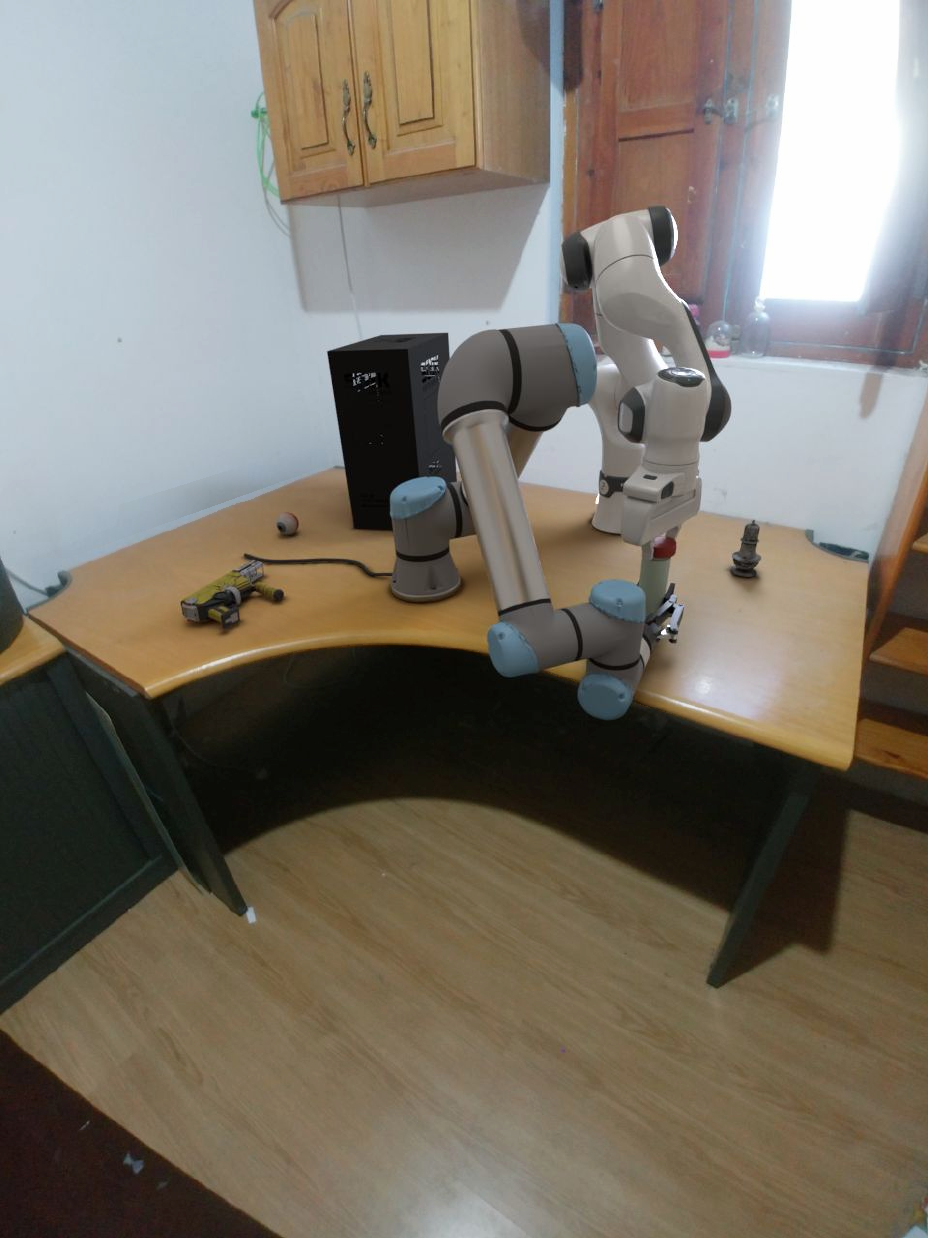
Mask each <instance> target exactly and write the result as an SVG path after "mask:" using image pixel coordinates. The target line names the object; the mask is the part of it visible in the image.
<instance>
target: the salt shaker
mask: <svg viewBox="0 0 928 1238" xmlns="http://www.w3.org/2000/svg"><path fill="white" fill-rule="evenodd" d="M760 530H761V527H760V525H759V524H757V523H756V519H752V520H751V522H749V523H746V525H744V529H743V534H742V537H741V538H740V541H741V543H740V548H739V550H737V551H734V552H732V553H731V557H732V563H733V565H734V566H732V567H731V568H730V572H731V573H732V574H734V575H735V576H738V577H743V578H750V577H754V576H756V575H757V574H758V571H757V569H755V568H756V567H758V565H759V563H760V561H761V560H762V555H760V554H758V553H757V547H758V543H760V540H759V535H760Z"/></svg>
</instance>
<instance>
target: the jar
mask: <svg viewBox="0 0 928 1238" xmlns="http://www.w3.org/2000/svg"><path fill="white" fill-rule="evenodd" d="M671 559H672V557H670V558H664V559H659V558H654V559H652V560H650V561H647V560H644V559H642V558H641V563H640V570H639V580H638V582H639V587H640V588H641V589H642V590H643V591H644V593H645V597H646V616H645V617H647V616H648V615H649V614H650V613H652V614H653V613H654V612H655V611H656V610H657V609H659V608H660V607H661V606H662V605H663V602H664V597H665V595H666V593H667V589H668V588H667V587H668V580H669V575H670V574H669V573H670V567H671ZM659 629H660V630H661V631H662V624H661V625H660V626H659Z"/></svg>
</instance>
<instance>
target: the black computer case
mask: <svg viewBox="0 0 928 1238" xmlns="http://www.w3.org/2000/svg"><path fill="white" fill-rule="evenodd" d="M326 354H327V360H328V369H329V373H330V380H331V387H332V393H333V400H334V406H335V415H336V420H337V426H338V427H337V428H338V433H339V439H340V440H339V441H340V448H341V454H342V460H343V466H344V472H345V478H346V486H347V493H348V500H349V506H350V511H351V520H352V525H353V529H360V530H361V529H362V530H363V529H364V530H366V529H367V530H389V531H393V526H392V518H391V516H390V496H391V493H392V491H393V490H394V489H395V488H396V487H397V486H399V485H400V484H402V483H404V482H407V481H409V480H412V479H416V478H421V477H427V478H428V477H439V478H442V479H443V480H444V481H445V483H446V484H447V483H452V482H458V478H457V477H458V475H457V460H456V456H455V453H454V449H453V445H451V444H449V443H447V442H446V441H445V440H444V439H443V435H442V431H441V428H440V424H439V418H438V391H439V386H440V382H441V378H442V375H443V372H444V369H445V367H446V365H447V363H448V361H449V359H450V358H451V356H450V355H451V354H450V341H449V332H427V333H400V334H399V333H397V334H395V333H394V334H379V335H377V336H373V337H370V338H367V339H363V340H359V341H356V342H353V343H350V344H347V345H342V346H340V347H336V348H333V349H330V350H327V351H326ZM429 361H430V362H429ZM436 363H437V364H436Z"/></svg>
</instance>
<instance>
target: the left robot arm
mask: <svg viewBox="0 0 928 1238" xmlns="http://www.w3.org/2000/svg"><path fill="white" fill-rule="evenodd" d="M597 366H598V362H597V355H596V350H595V346H594V343H593V341H592V339H591V337H590V335H589V333H588V332H587V331H586V329H585V328H583V326H582V325H580V324H576V323H560V322H555V323H549V324H539V325H529V326H520V327H519V326H518V327H510V328H501V329H500V328H499V329H496V328H495V329H494V328H493V329H485V330H482V331H479V332H476V333H474V334H472V335H470V336H469V337H467V338H466V339H464V341H462V343H460V344H459V345H458V346H457V347H456V349H455V350H454V352H453V353H452V355H451V356H450V359H449V361H448V363H447V365H446V367H445V369H444V372H443V375H442V378H441V382H440V386H439V391H438V418H439V424H440V428H441V431H442V435H443V439H444V440H445V441H446V442H447V443H449V444H451V445H453V449H454V453H455V457H456V465H457V468H458V471H459V475H460V478H461V480H460V481H459V480H457V482H452V483H447V484H446V483H445V481H444V480H443V479H442V478H439V477H428V478H427V477H421V478H416V479H412V480H409V481H407V482H404V483H402V484H400V485H399V486H397V487H396V488H395V489H394V490H393V491H392V493H391V496H390V516H391V518H392V526H393V530H392V535H393V543H394V551H395V560H394V561H395V562H394V565H393V570H392V572H375V571H370V569H369V568H367V566H366V564H364V563H362V562H360V561H358V560H354V559H350V558H334V557H333V558H332V557H331V558H329V557H325V558H324V557H319V558H299V559H297V558H296V559H294V558H293V559H291V558H290V559H268V558H262V557H259V556H258V557H257V556H256V555H255V556H254V555H252V554H249V553H246V552H245V553H244V554H243V556H244V557H246V558H247V559H251V560H255V561H256V562H257V561H260V562H262V563H270V564H293V563H294V564H296V563H297V564H298V563H300V564H301V563H321V562H325V563H329V562H330V563H349V564H353V565H356V566H359V567H361V568H362V570H363V571H364V573H367V575H370V576H372V577H391V578H390V586H391V593H392V594H393V595H394V596H395V597H396V598H398V599H399V600H402V601H405V602H411V603H432V602H437V601H438V602H439V601H441V600H444V599H447V598H449V597H451V596H453V595H454V594H456V593H457V592H458V591H459V589H460V588H461V576H460V572H459V569H458V568H457V565H456V563H455V561H454V559H453V556H452V554H451V548H450V541H451V540H455V539H460V538H467V537H472V536H476V538H477V542H478V545H479V549H480V553H481V557H482V561H483V564H484V568H485V572H486V576H487V579H488V583H489V587H490V590H491V594H492V598H493V601H494V605H495V609H496V613H497V616H498V622H497V623H494V624H491V626H490V627H488V630H487V634H486V640H487V644H488V645H487V646H488V647H487V649H488V653H489V657H490V660H491V663H492V665H493V667H494V668H495V670H496V671H497V672H498V673H499V674H500V675H501V676H503V677H505V678H514V677H521V676H524V675H530V674H537V673H539V672H541V671H546V670H548V669H552V668H555V667H556V668H557V667H559V666H563V665H568V664H570V663H575V662H579V661H580V662H581V661H584V660H586V663H585V672H584V675H583V677H581V679H580V681H579V686H578V688H577V700H578V703H579V705H580V707H582V709H583V711H585V712H586V713H587V714H588V715H589V716H591V717H593V718H595V719H599V720H603V721H614V720H617V719H619V718H621V717H623V716H624V715H625V714H626V712H627V711H628V709H629V707H630V706H631V704H632V703H633V702H634V698H635V697H634V696H635V694H636V692H637V689H638V686H639V684H640V682H641V679H642V676H643V674H644V672H645V669H646V667H647V665H648V662H649V660H650V658H651V655H652V654H653V651H654V648H655V646H656V644H658V643H659V642H661V640H668V642H669V643H671V644H676V643H677V642H678V635H679V627H680V624H681V622H682V620H683V616H684V610H685V604H684V603H677V602H678V595H677V594H674V593H675V588H676V583H675V582H670V584H669V586H668V588H667V589H666V595H665V597H664V602H663V605H662V606H661V607H660V608H659V609H657V610H656V611H655V612H654V613H653V614H652V613H650V614H649V615H648V616H647V617H645V616H646V597H645V593H644V591H643V590H642V589H641V588H640V587H639V581H637V583H634V582H631V581H629V580H626V579H625V580H624V579H616V578H615V579H614V578H613V579H605V580H601V581H599V582H597V584H594V585H593V586H592V588H591V589H590V593H589V596H588V602H585V603H581V604H576V605H571V606H567V607H562V608H557V609H554V606H553V603H552V599H551V596H550V591H549V588H548V585H547V580H546V577H545V573H544V569H543V567H542V563H541V558H540V555H539V551H538V548H537V544H536V540H535V538H534V533H533V530H532V526H531V523H530V522H531V521H530V518H529V515H528V511H527V507H526V504H525V500H524V497H523V493H522V490H521V489H522V488H521V486H520V482H519V479H520V478H521V475H522V474H523V471H524V470H525V468H526V466H527V464H528V462H529V461H530V459H531V457H532V455H533V453H534V451H535V450H536V447H537V446H538V444H539V442H540V440H541V438H542V437H543V435H544V433H546V432H548V431H550V430H552V429H554V428H555V427H557V426H558V425H559V424H560V423H561V421H562V419H563V418H564V416H565V415H566V412H567V411H568V409H570V408H573V407H575V408H581V406H585V405H588V404H587V403H589V402H590V400H591V399H592V397H593V395H594V392H595V389H596V384H597ZM669 618H670V620H669V623H668V624H667V625H666V627H665V628H663V630H662V629H661V630H660V629H659V626H660V625H661V626H662V625H663V623H665V622H666V621H667V620H668V619H669Z"/></svg>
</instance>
